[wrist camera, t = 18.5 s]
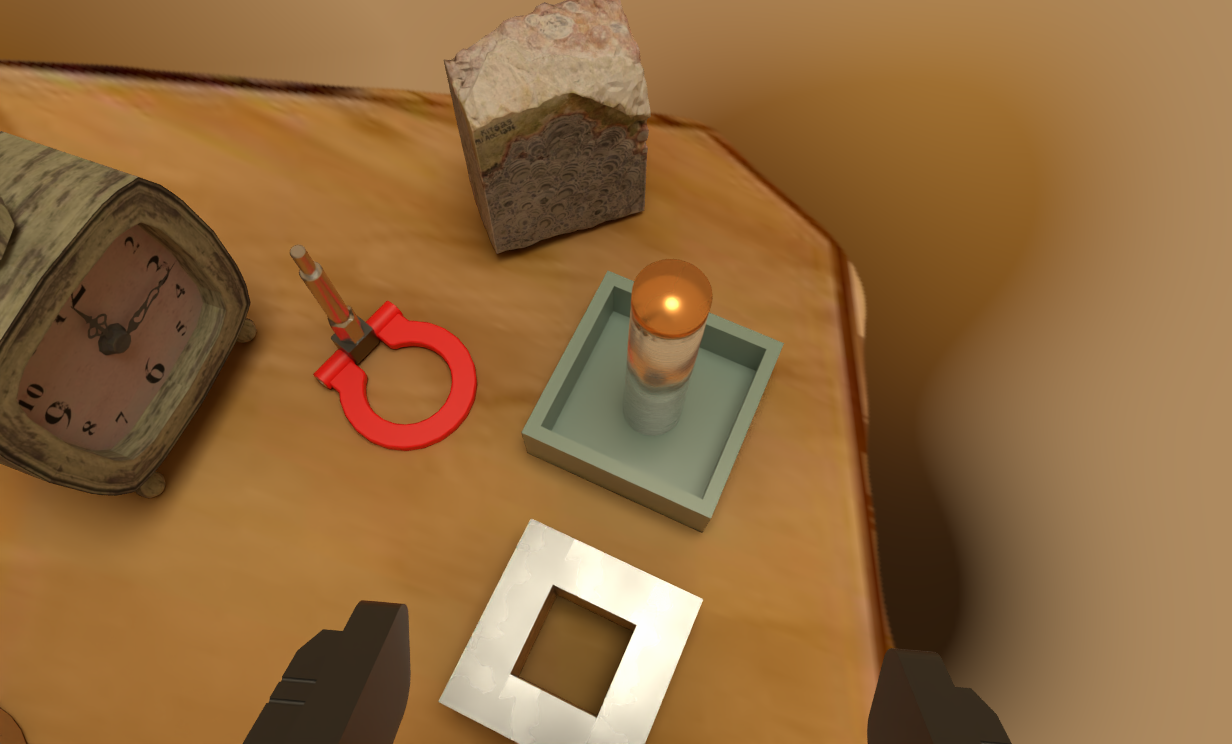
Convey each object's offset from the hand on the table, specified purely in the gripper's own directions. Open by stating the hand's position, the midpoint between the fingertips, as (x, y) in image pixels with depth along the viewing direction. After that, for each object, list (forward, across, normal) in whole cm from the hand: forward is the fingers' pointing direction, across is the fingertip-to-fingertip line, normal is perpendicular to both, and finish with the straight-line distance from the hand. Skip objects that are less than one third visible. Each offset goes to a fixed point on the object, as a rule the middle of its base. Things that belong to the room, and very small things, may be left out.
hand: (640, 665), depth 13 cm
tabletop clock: (+34, +29, +13) cm, 46 cm away
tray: (+35, -1, +12) cm, 36 cm away
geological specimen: (+45, +6, +2) cm, 45 cm away
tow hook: (+35, +14, +12) cm, 40 cm away
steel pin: (+34, -1, +11) cm, 36 cm away
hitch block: (+24, +2, +22) cm, 33 cm away
